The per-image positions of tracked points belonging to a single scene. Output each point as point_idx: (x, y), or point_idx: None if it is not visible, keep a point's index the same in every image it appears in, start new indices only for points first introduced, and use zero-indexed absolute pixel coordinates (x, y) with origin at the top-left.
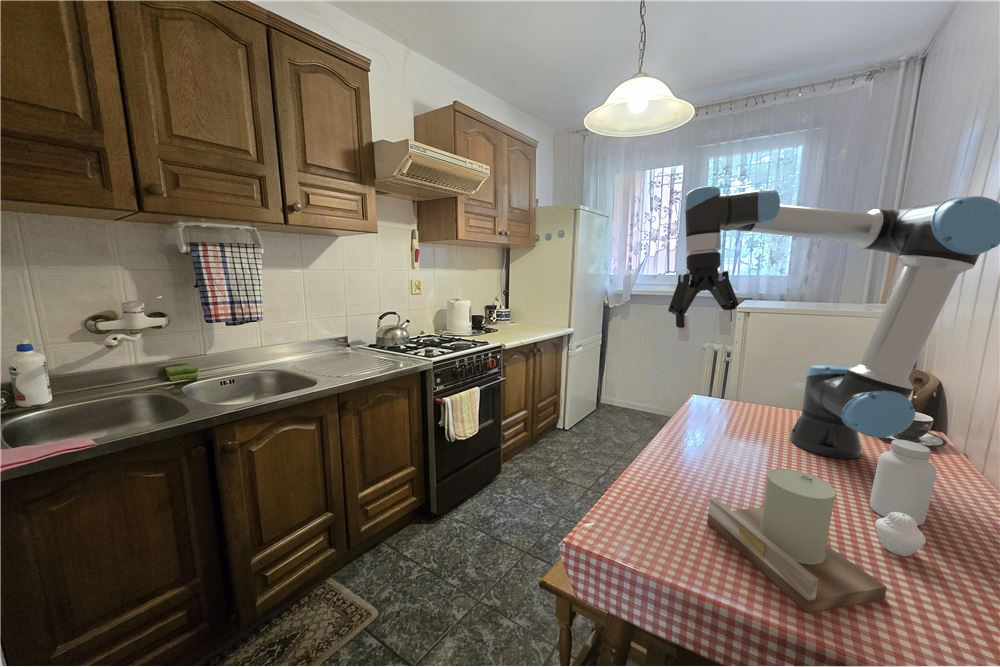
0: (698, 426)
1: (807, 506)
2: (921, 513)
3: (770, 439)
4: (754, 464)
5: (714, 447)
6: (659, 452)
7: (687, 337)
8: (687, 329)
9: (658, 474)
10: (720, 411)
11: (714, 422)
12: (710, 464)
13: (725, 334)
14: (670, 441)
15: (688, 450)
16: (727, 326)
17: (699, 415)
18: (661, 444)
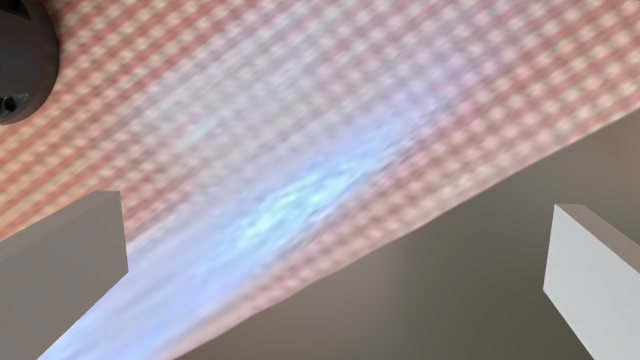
0: (212, 268)
1: None
2: None
3: (88, 130)
4: (266, 32)
5: (284, 145)
6: (465, 175)
7: (583, 215)
8: (619, 242)
9: (572, 73)
10: None
11: (142, 272)
12: (383, 71)
13: (119, 221)
14: (377, 219)
15: (373, 156)
16: (78, 226)
17: (143, 327)
18: (419, 212)
